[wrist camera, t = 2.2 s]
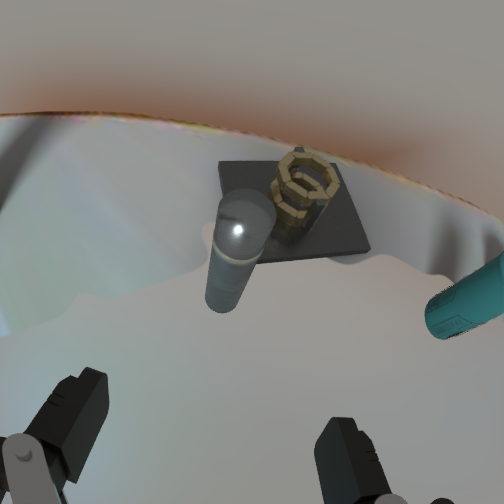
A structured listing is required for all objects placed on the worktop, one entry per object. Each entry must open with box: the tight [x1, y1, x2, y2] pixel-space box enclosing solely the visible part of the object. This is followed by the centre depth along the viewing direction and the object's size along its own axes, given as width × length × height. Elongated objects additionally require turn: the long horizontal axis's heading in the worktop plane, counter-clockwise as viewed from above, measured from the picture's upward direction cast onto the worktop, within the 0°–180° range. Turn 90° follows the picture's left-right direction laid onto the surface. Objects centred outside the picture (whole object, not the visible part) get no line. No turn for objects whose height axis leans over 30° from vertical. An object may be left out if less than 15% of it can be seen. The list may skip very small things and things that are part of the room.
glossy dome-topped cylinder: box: [205, 189, 276, 313], centre depth 25 cm, size 4×4×16 cm
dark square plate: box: [218, 147, 371, 264], centre depth 37 cm, size 18×15×7 cm
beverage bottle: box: [425, 251, 504, 340], centre depth 27 cm, size 6×7×20 cm
